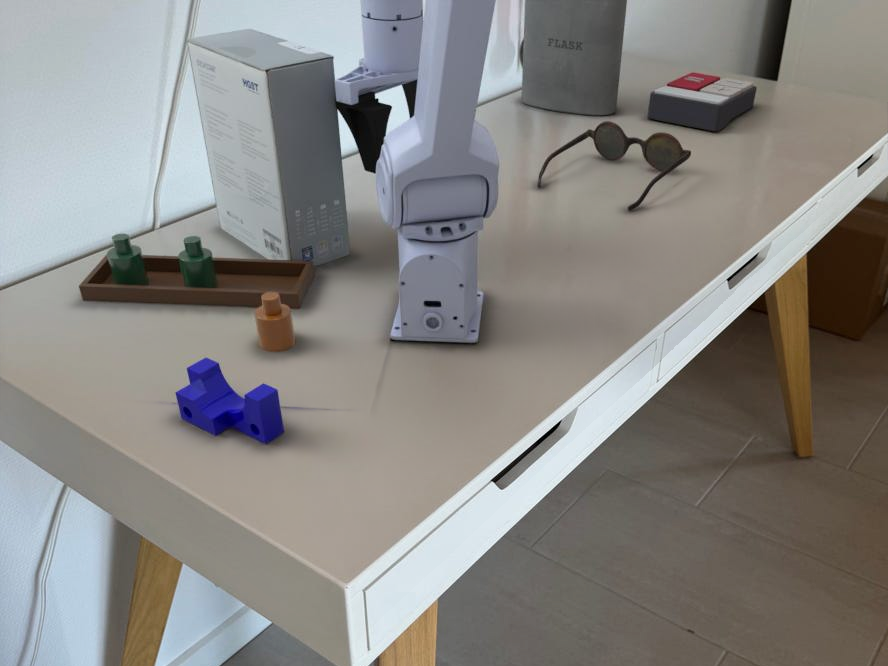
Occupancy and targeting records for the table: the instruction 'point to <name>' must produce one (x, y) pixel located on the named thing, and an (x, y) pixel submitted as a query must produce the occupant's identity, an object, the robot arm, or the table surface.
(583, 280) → the table surface
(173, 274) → the tray
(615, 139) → the eyeglasses
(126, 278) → the green bottle
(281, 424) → the cable holder
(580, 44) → the flask
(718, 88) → the calculator
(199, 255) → the green bottle
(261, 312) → the amber bottle
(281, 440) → the table surface
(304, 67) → the hard drive box
